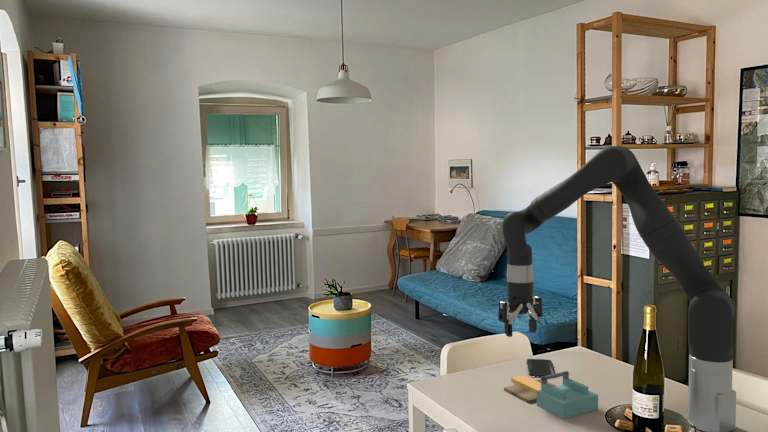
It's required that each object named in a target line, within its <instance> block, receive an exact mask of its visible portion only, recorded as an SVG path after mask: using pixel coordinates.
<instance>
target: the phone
mask: <svg viewBox="0 0 768 432" xmlns="http://www.w3.org/2000/svg"><path fill="white" fill-rule="evenodd" d="M552 361H553V360H551V359H541V358H527V359H526V365H528V366H527V373H528V372H529V373H528V376H529V375H530V376H538V377H537V378H541V377H542V376H546V375H551V374H556V372H555V370H554V369H555V368H554V365H553V362H552ZM530 376H529V377H530Z"/></svg>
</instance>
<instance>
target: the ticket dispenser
mask: <svg viewBox="0 0 768 432" xmlns="http://www.w3.org/2000/svg"><path fill="white" fill-rule="evenodd" d="M560 377H562V384H561V385H560V384H559V385H556V386H555V387H554V386H552V385H550V384H548V383H547V381H548V380H552V379H555V378H560ZM569 377H570V371H568V370H566V371H561V372H560V371H559V372H555V374H551V375H546V376H540V379H541V390H538V391H537V402H536V406H538V407H539V408H541V409H544V410H545V411H547V412H548V413H551V414H552V415H554V416H556V417H559V418H560V419H562V420H564V419H567V418H568V419H569V418H572V417H576V416H579V415H582V414H583V415H584V414H587V413H590V412H591V413H592V412H594V411H597V410H599V394H597V393H595V392H593V391H591V390H589V386H588V385H585V384H583V383H581V382H578V381H576V380H574V379H572V378H569Z"/></svg>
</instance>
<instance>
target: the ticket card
mask: <svg viewBox="0 0 768 432" xmlns="http://www.w3.org/2000/svg"><path fill="white" fill-rule="evenodd" d="M510 379H511V380H510V382H511V383H512V384H515V385H519V386H521V387H523V388H525V389H527V390H529V391H531V392H533V393H535V394H537V391H538V390H541V383H540V382H537V381H535V379H533V378H532V377H530V376H529V377H528V376H527V375H518V376H513V377H510Z"/></svg>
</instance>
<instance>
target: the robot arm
mask: <svg viewBox="0 0 768 432" xmlns="http://www.w3.org/2000/svg"><path fill="white" fill-rule="evenodd" d="M638 160H639V159H637V157H636V155H635V154H634V153H633V151H632V150H631V149H630V148H628V147H626V146H622V145H613V146H606V147H604V148H602V149H600V150H599V151H598V152H596V154H594V155H593V156H592V157H591V158H590V159H589V160H587V162H586V163H585V164H583V165H582V166H581V167H580V168H579V169H578V170H576V171H575V172H573V174H571V175H569V176H568V177H567V178H565V179H564V180H562V181H560V182H559V183H558V184H555V185H554V186H552V187H551V188H550V189H548V190H546V191H544V192H543V193H541V194H540V195H538V196H536V197H535V198H534V199H533V200H531V202H530V204H529V205H528V206H526V207H525V208H523V209H520V210H517V211H511V212H509V213H507V214H506V215H505V216H504V217H503V221H502V226H501V227H502V235H503V239H504V243H505V246H506V249H507V266H506V267H507V268H506V294H507V298H508V299H507V301H502V300H499V302H498V322H501V323H503V324H504V334H505V335H506V337H508V338H512V337H513V324H512V323H513V322H514V320H515V319H516V318H517V317H518V316H521V315H527V316H528V317H529V319H528V329H529V330H528V331H529V332H530V333H533V334H535V333H536V332H537V330H538V326H537V325H538V323H537V320H538V319H539V318H542V317H543V316H544V315H543V314H544V313H543V302H542V301H543V299H542V297H540V296H537V295H534V269H533V249H532V246H531V245H530V244H528V243H527V240H526V235H527V234H530V233H532V232H534V231H535V230H537V229H538V228H539V227H541V226H542V225H543V224H544V223H546V222H547V221H548V220H550V219H552V218H554V217H555V216H557V215H559V214H561V213H562V212H563V211H566V209H568V208H569V207H571V206H572V205H573V204H575V202H577V201H578V200H579V199H581V198H582V197H583V196H584V195H586V194H588V193H589V192H592V191H594V190H596V189H598V188H600V187H602V186H605V185H608V184H611V183H612V184H613V185H614V186H615V187H616V189H617V190H618V191H619V192H620V194H621V195H622V196H623V198H624V200H625V202H626V203H627V206H628V209H629V211H630V215H631V218H632V221H633V224H634V226H635V229H636V231H637V232H638V235H639V236H640V238H641V239H642V241H643V243H644V244H645V246H646V247H647V248H648V250H649V252H650V253H651V254H652V255H653V256H654V258H655V259H656V260H657V262H659V263H660V265H662V266H663V267H664V268H665V269H666V270H667V271H668V272H669V273H670V274H671V275H673V277H674V278H675V279H676V281H677V282H678V284H679V285H680V287H681V288H682V290H683V291H684V293H685V295H686V297H687V299H688V301H689V305H688V308H687V309H688V312H687V342H688V344H687V345H688V348H689V351H688V353H689V355H688V361H689V362H688V407H687V408H688V412H687V413H688V417H687V418H688V420H689V421H690V422H691V423H693V424H694V426H695V427H696V428H695V429H696V430H699V431H701V432H702V431H703V432H732V431H735V430H736V420H737V417H736V416H737V415H736V414H737V391H736V390H734V389H733V370H734V369H733V362H734V361H733V360H734V348H733V331H734V329H733V323H734V322H733V319H734V315H735V311H736V309H735V304H734V301H733V299H732V298H731V296H730V294H728V293H727V291H726V290H725V289H724V288H723V286H721V285H720V283H719V282H718V281H717V279H716V278H715V277H714V275H713V274H711V272H710V271H709V269H707V267H706V266H705V264H704V262H703V261H702V259H701V257H700V256H699V254H698V252H697V250H696V248H695V247H694V245H693V243H692V242H691V240H690V238H689V237H688V235H687V234H686V232H685V231H684V229H683V227H682V226H681V224H680V223H679V221H678V220H677V219H676V217H675V216H674V214H673V213H672V212H671V211H670V209H669V208H668V206H667V205H666V203H665V202H664V201H663V199H662V198H661V196H660V195H659V194H658V192H656V190H655V189H654V187H653V186H652V185H651V183H650V181H649V179H648V177H647V176H646V174H645V172H644V170H643V168H642V166H641V164H640V163H639V161H638Z"/></svg>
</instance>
